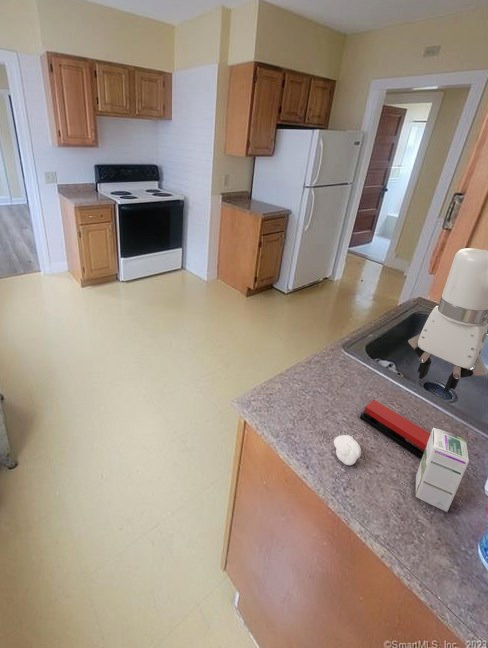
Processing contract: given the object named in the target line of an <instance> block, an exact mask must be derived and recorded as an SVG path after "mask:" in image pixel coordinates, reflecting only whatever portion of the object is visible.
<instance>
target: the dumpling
mask: <svg viewBox="0 0 488 648" xmlns="http://www.w3.org/2000/svg"><path fill="white" fill-rule="evenodd" d="M333 445H334V448H335V455H336V457H337V459H338V460H339V462H341V463H343V464H344V465H345V466H353V465H354V464H356V463H357V461H358V460H359V459H360V457H361V455H362V449H361V446H360V444H359V443H358V442H357V440H355V439H354V438H353V436H351V435H348V434H340V435H338V436H336V437H335V438H334V439H333Z"/></svg>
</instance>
